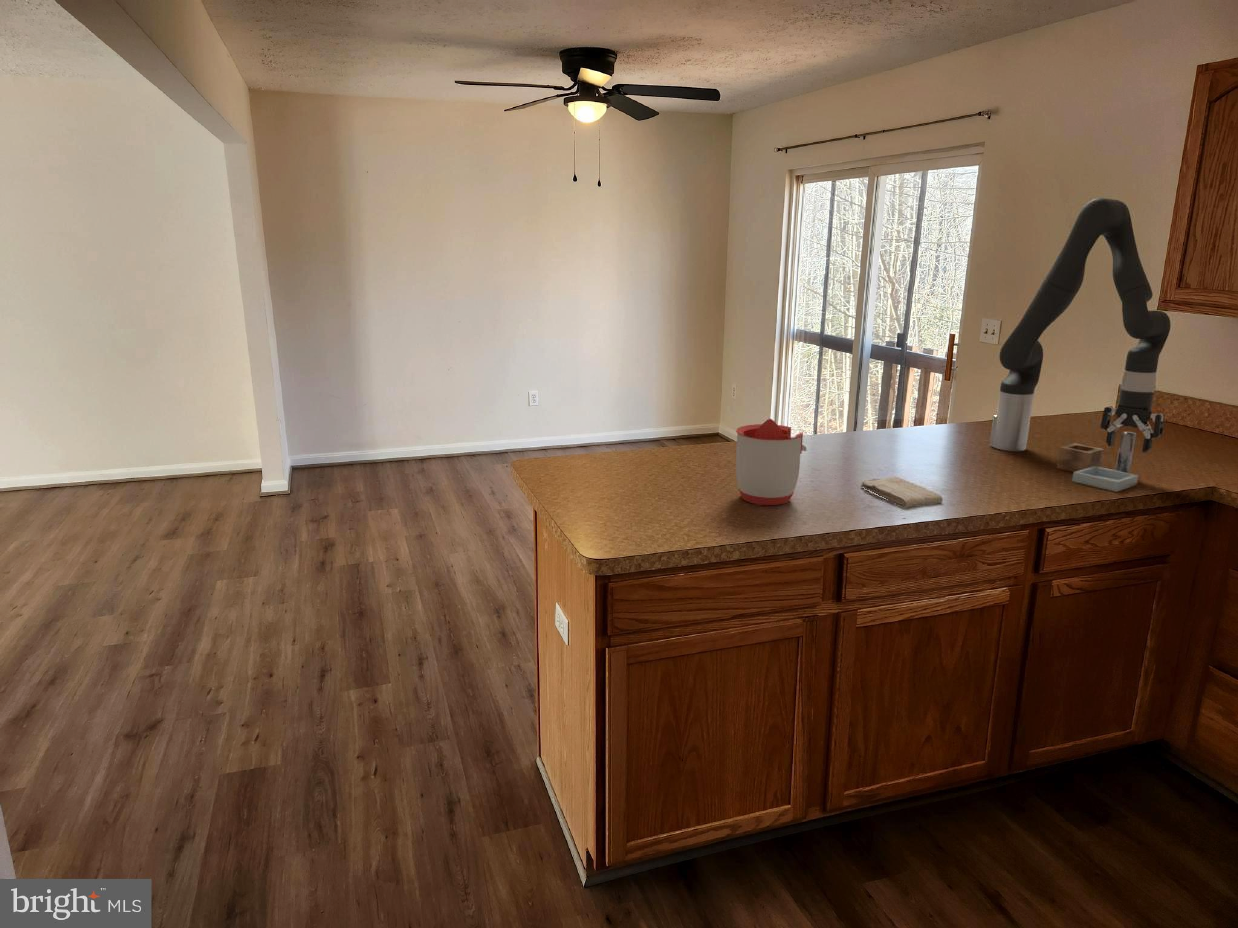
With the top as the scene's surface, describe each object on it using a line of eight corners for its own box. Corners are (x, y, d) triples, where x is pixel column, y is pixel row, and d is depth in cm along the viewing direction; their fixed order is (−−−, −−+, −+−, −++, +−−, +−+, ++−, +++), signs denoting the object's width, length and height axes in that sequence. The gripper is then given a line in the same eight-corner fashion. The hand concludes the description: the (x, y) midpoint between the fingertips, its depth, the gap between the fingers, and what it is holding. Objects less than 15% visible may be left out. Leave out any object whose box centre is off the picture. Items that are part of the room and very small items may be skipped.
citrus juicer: (817, 505, 192) (823, 423, 187) (750, 512, 187) (754, 427, 182) (785, 486, 206) (790, 410, 201) (722, 492, 202) (726, 413, 196)
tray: (1072, 481, 213) (1073, 472, 212) (1092, 474, 219) (1094, 465, 218) (1116, 491, 204) (1118, 482, 203) (1136, 484, 210) (1138, 475, 209)
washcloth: (894, 484, 211) (895, 473, 210) (944, 505, 195) (946, 492, 194) (856, 489, 206) (857, 477, 205) (905, 510, 190) (906, 498, 189)
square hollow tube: (1056, 468, 225) (1059, 447, 223) (1071, 463, 229) (1074, 443, 228) (1086, 474, 219) (1089, 453, 217) (1100, 470, 223) (1104, 449, 221)
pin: (1112, 475, 218) (1119, 432, 215) (1117, 473, 220) (1125, 430, 216) (1124, 478, 215) (1132, 434, 212) (1130, 476, 217) (1138, 433, 214)
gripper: (1102, 386, 215) (1093, 445, 219) (1161, 393, 203) (1150, 456, 208) (1115, 383, 219) (1106, 442, 223) (1174, 390, 208) (1163, 452, 212)
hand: (1127, 448), depth 215 cm, fingers open, 8 cm apart
